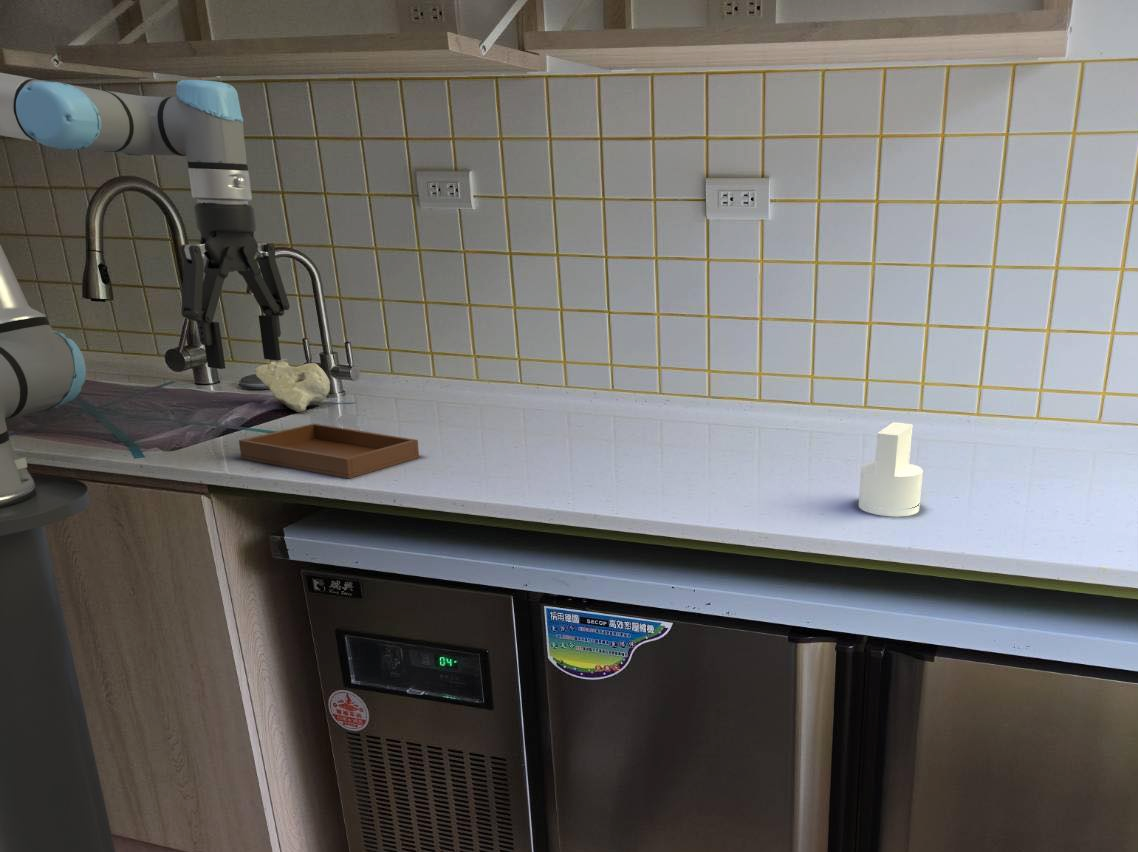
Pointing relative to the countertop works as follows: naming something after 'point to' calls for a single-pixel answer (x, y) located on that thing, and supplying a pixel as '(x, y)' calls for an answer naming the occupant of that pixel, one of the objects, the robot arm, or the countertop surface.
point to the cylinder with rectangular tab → (891, 475)
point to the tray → (329, 450)
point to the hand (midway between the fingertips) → (245, 363)
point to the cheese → (295, 383)
